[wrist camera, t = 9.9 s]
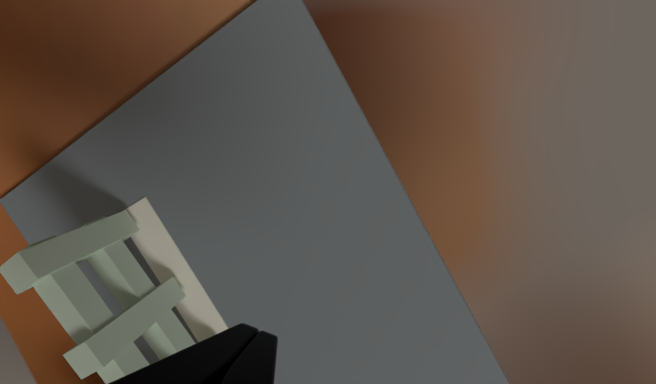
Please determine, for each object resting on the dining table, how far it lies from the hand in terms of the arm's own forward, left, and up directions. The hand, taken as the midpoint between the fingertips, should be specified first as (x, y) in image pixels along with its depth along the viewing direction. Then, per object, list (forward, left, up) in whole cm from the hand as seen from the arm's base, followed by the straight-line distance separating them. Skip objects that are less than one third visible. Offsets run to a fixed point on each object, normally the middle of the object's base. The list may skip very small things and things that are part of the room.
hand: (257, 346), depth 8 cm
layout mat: (-3, +5, -7) cm, 9 cm away
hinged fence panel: (+1, +8, -6) cm, 10 cm away
